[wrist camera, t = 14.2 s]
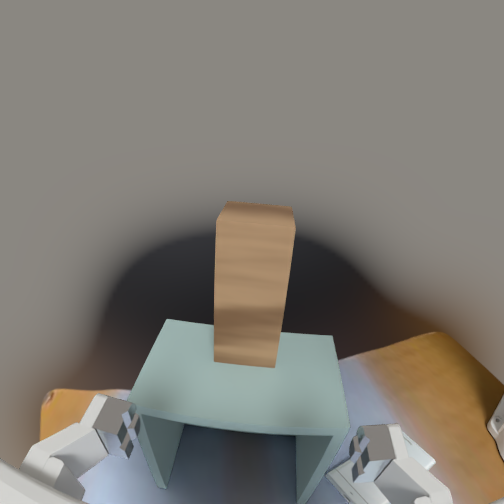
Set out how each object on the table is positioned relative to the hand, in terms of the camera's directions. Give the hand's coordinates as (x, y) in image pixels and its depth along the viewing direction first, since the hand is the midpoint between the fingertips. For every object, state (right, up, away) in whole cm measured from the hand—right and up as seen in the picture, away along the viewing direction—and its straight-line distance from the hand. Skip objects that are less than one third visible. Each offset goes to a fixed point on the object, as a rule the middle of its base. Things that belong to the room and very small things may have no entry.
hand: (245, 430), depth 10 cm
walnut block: (0, -2, +17) cm, 17 cm away
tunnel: (-2, -18, +21) cm, 27 cm away
